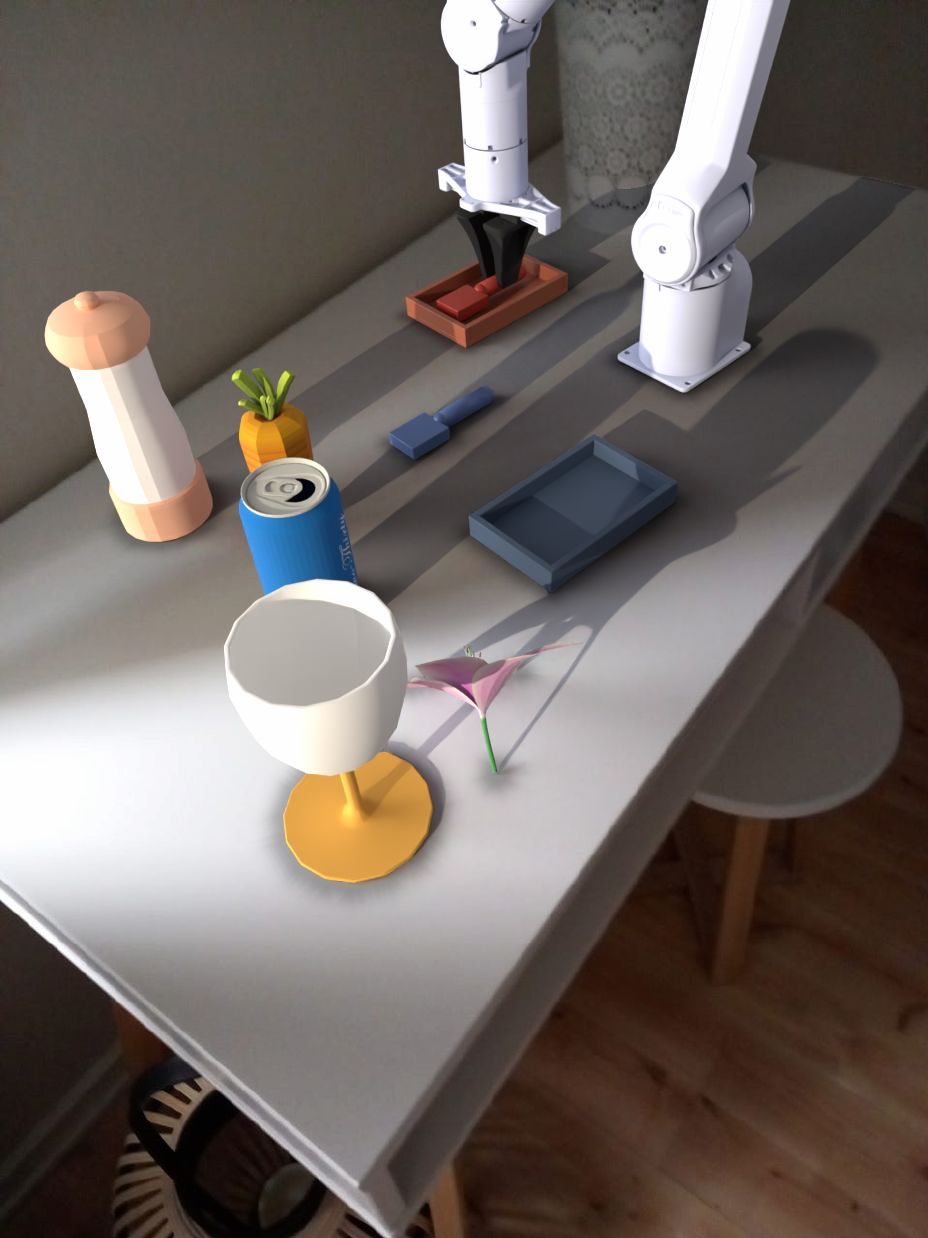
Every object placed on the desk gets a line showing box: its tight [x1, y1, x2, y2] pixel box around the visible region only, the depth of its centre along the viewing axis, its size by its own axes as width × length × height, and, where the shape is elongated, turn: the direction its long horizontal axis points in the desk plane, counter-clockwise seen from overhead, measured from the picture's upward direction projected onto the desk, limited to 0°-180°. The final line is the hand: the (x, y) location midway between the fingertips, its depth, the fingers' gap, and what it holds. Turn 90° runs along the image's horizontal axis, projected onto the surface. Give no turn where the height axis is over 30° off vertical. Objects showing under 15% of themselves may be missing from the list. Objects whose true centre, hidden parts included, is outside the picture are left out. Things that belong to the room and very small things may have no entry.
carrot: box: [231, 367, 315, 474], centre depth 70 cm, size 5×5×15 cm
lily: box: [407, 641, 583, 774], centre depth 60 cm, size 12×12×10 cm
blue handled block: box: [388, 385, 495, 461], centre depth 83 cm, size 10×3×2 cm, turn 132°
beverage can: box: [238, 458, 360, 596], centre depth 65 cm, size 6×6×12 cm
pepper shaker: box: [44, 290, 214, 543], centre depth 71 cm, size 7×7×19 cm
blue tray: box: [468, 433, 679, 593], centre depth 74 cm, size 14×9×2 cm, turn 132°
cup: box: [223, 579, 434, 884], centre depth 53 cm, size 9×9×16 cm
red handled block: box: [436, 264, 526, 322], centre depth 95 cm, size 10×3×2 cm, turn 132°
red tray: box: [405, 252, 569, 349], centre depth 96 cm, size 14×9×2 cm, turn 132°
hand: (500, 280), depth 96 cm, fingers closed on red handled block, 1 cm apart
